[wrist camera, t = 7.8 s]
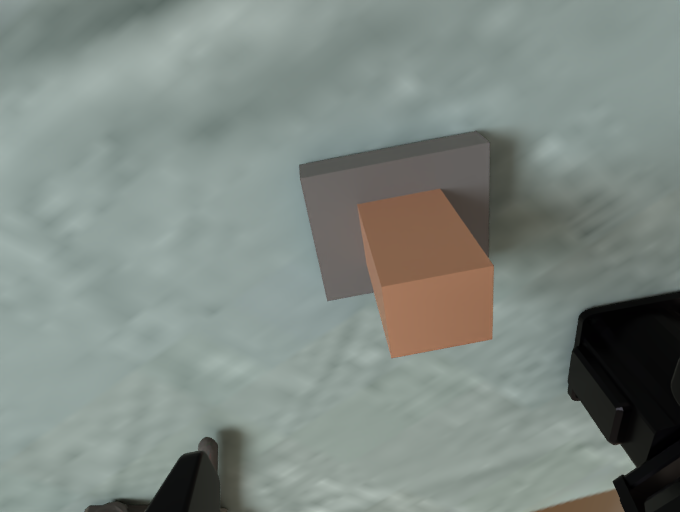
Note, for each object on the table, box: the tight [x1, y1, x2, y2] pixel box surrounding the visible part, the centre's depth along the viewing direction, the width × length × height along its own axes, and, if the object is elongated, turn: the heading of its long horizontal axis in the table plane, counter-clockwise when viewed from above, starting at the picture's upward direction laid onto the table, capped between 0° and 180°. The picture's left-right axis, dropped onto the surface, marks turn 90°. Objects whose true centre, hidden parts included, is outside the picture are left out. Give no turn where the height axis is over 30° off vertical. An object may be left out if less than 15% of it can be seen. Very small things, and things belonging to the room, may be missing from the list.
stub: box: [299, 131, 494, 358], centre depth 17 cm, size 7×6×7 cm
